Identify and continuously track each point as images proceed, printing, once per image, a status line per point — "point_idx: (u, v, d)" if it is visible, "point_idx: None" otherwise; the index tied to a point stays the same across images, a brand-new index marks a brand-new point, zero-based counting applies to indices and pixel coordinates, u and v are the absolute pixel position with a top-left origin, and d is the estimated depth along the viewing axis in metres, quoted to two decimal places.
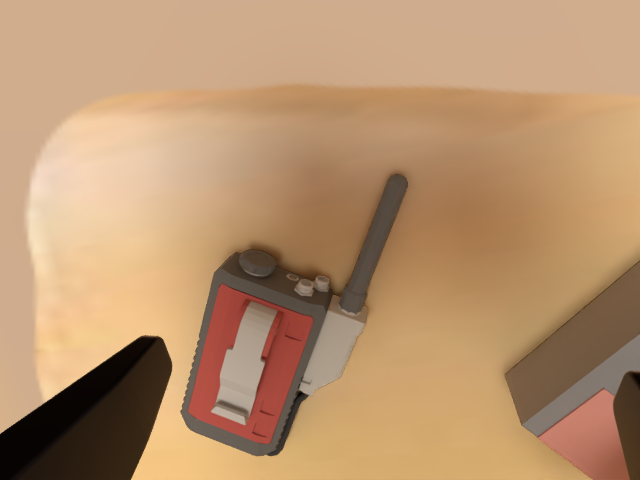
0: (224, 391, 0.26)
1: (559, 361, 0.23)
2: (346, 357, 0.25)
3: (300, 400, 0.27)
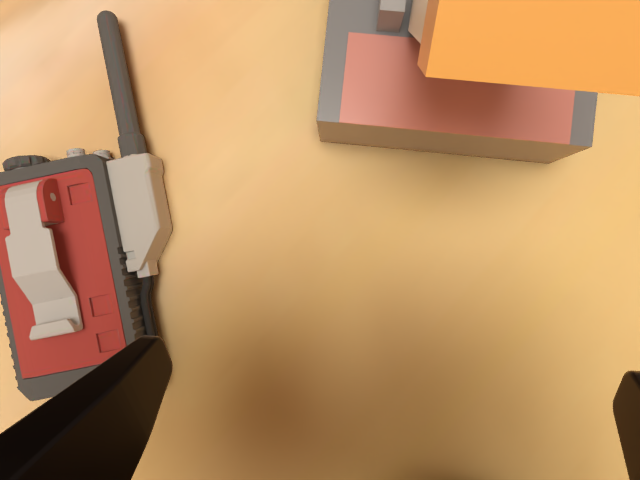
0: (39, 310, 0.21)
1: None
2: (151, 201, 0.22)
3: (143, 292, 0.23)
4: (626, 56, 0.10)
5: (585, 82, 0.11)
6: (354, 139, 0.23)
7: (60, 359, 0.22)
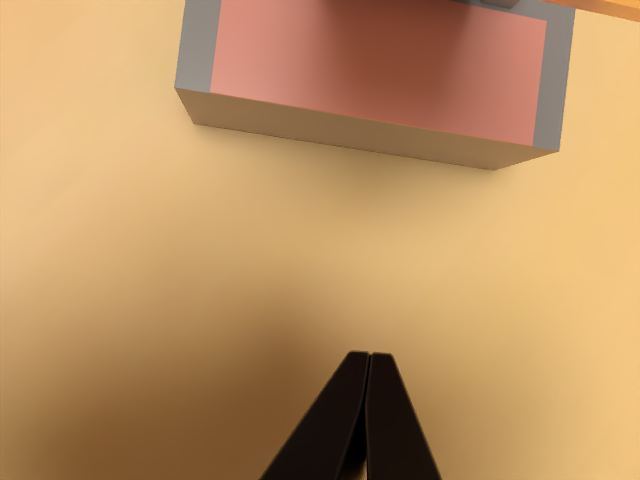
0: None
1: None
2: None
3: None
4: None
5: None
6: (241, 123, 0.16)
7: None
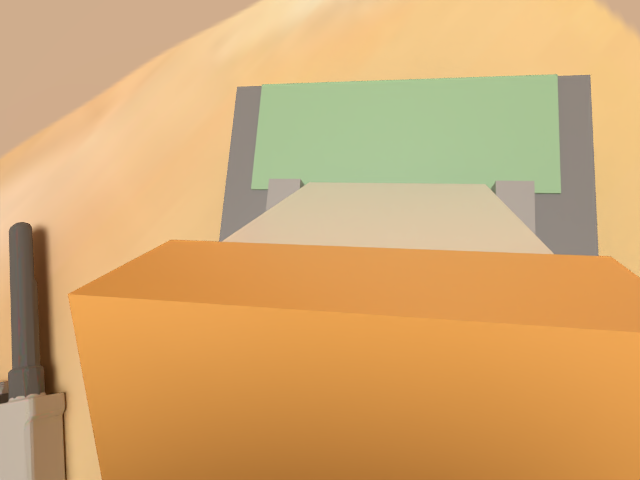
0: None
1: None
2: (27, 463, 0.18)
3: None
4: None
5: None
6: None
7: None
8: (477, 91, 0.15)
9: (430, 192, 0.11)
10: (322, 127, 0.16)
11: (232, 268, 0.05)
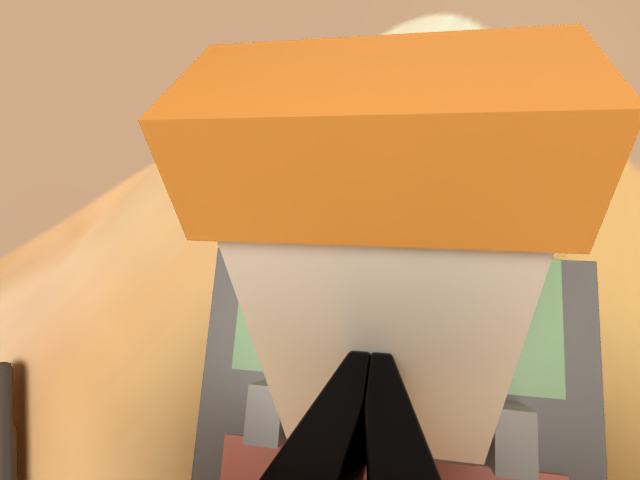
0: None
1: None
2: None
3: None
4: (507, 79, 0.05)
5: (449, 105, 0.05)
6: None
7: None
8: None
9: None
10: None
11: None
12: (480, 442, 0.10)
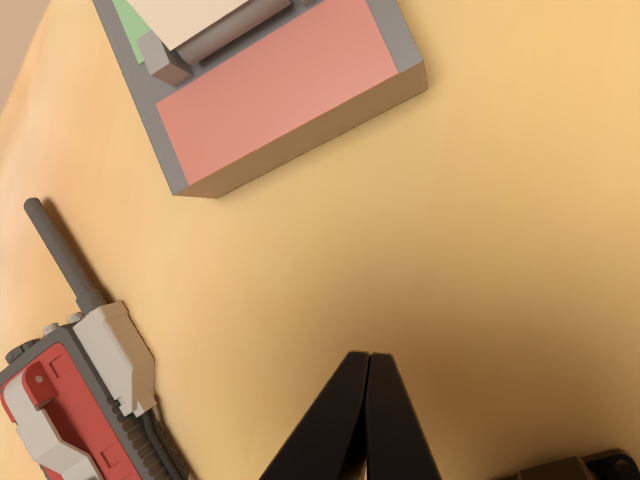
0: (67, 477, 0.24)
1: None
2: (117, 347, 0.24)
3: (146, 427, 0.24)
4: None
5: None
6: (234, 182, 0.22)
7: None
8: None
9: None
10: None
11: None
12: None
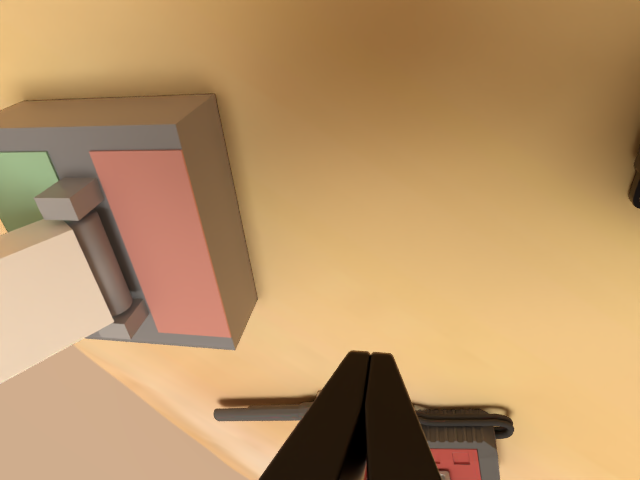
0: None
1: None
2: None
3: (424, 424, 0.28)
4: None
5: None
6: (246, 288, 0.25)
7: None
8: (1, 204, 0.20)
9: None
10: None
11: None
12: (43, 247, 0.17)
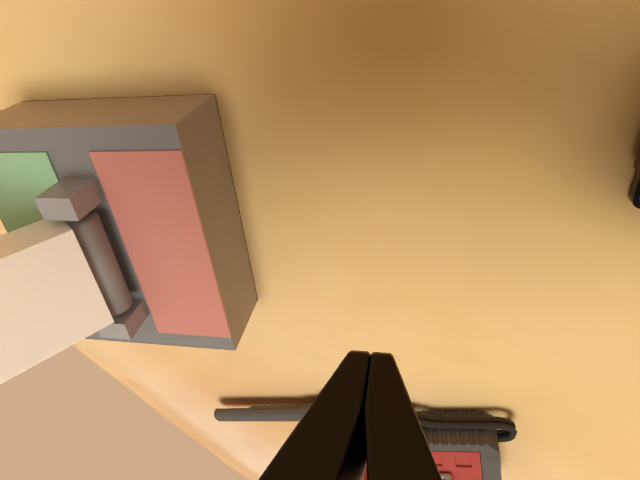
0: None
1: None
2: None
3: (427, 426, 0.28)
4: None
5: None
6: (246, 288, 0.25)
7: None
8: (2, 204, 0.20)
9: None
10: None
11: None
12: (43, 247, 0.17)
